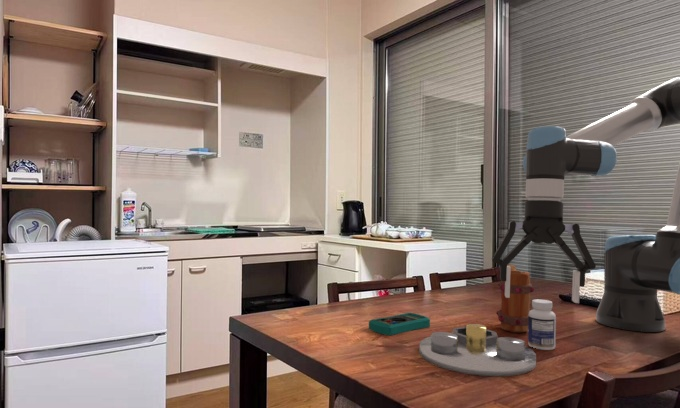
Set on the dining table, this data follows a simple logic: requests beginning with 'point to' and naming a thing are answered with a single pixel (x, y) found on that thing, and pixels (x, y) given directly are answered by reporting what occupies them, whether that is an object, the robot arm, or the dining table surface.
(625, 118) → the robot arm
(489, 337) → the carrier
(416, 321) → the digital multimeter
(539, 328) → the pill bottle
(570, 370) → the dining table surface
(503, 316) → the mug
